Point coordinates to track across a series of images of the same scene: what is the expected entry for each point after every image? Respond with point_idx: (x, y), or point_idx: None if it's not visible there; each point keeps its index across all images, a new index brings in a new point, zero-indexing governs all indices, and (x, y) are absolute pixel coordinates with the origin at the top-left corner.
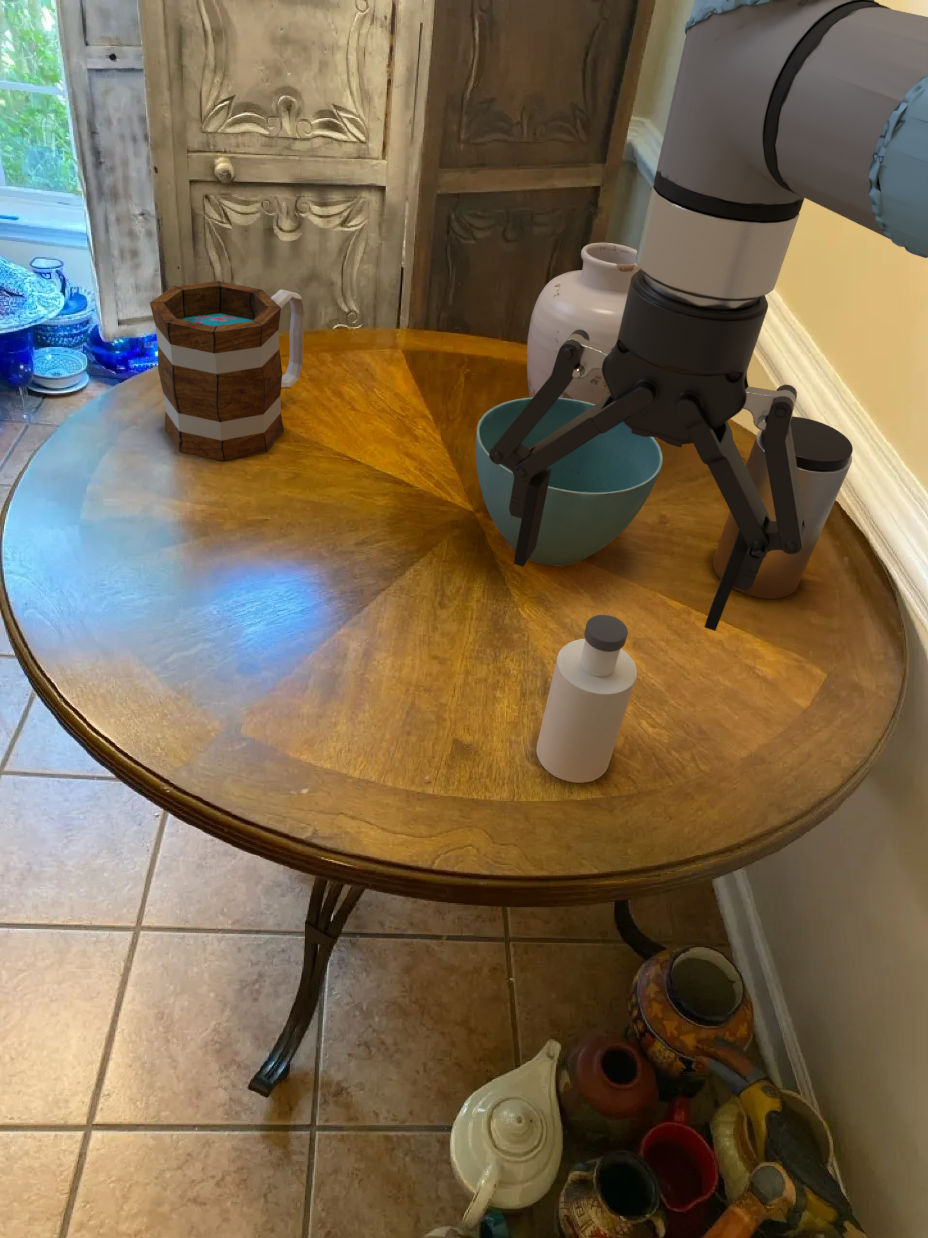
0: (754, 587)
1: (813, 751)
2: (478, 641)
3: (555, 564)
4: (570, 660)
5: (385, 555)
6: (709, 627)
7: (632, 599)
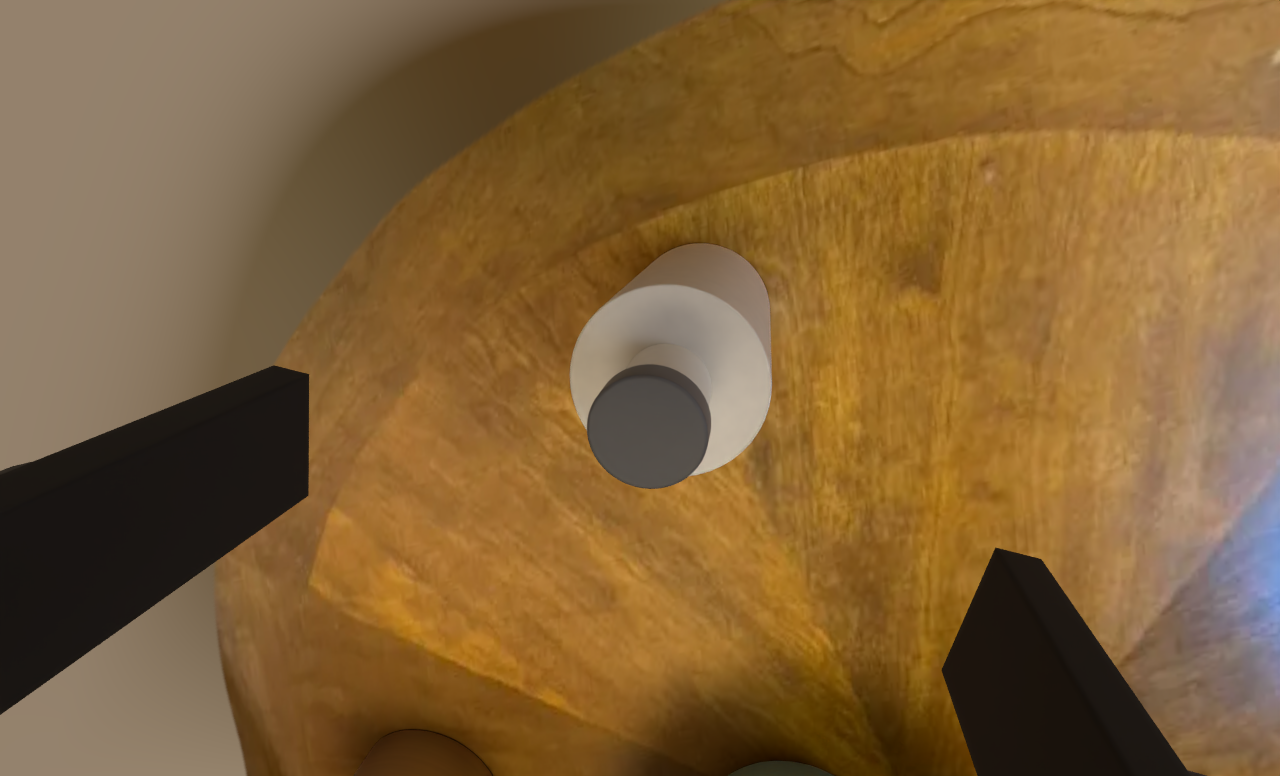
0: (424, 747)
1: (312, 418)
2: (907, 554)
3: (772, 762)
4: (736, 386)
5: None
6: (289, 372)
7: (624, 699)
